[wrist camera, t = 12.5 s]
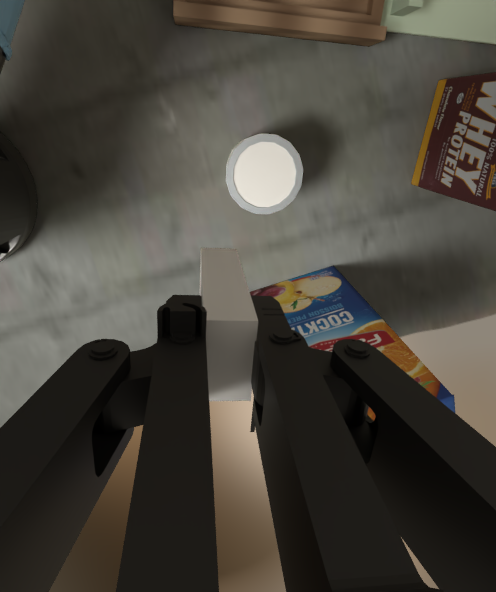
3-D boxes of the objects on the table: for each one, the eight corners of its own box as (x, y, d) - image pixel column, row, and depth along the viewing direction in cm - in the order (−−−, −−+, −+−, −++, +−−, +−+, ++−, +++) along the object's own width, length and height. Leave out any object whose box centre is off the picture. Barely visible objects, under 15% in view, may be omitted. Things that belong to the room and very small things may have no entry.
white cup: (300, 159, 41) (319, 167, 35) (259, 213, 43) (270, 229, 37) (248, 114, 39) (259, 114, 33) (207, 173, 41) (209, 183, 34)
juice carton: (334, 265, 47) (455, 395, 25) (345, 318, 50) (460, 476, 28) (236, 296, 47) (271, 452, 25) (253, 347, 50) (298, 526, 28)
